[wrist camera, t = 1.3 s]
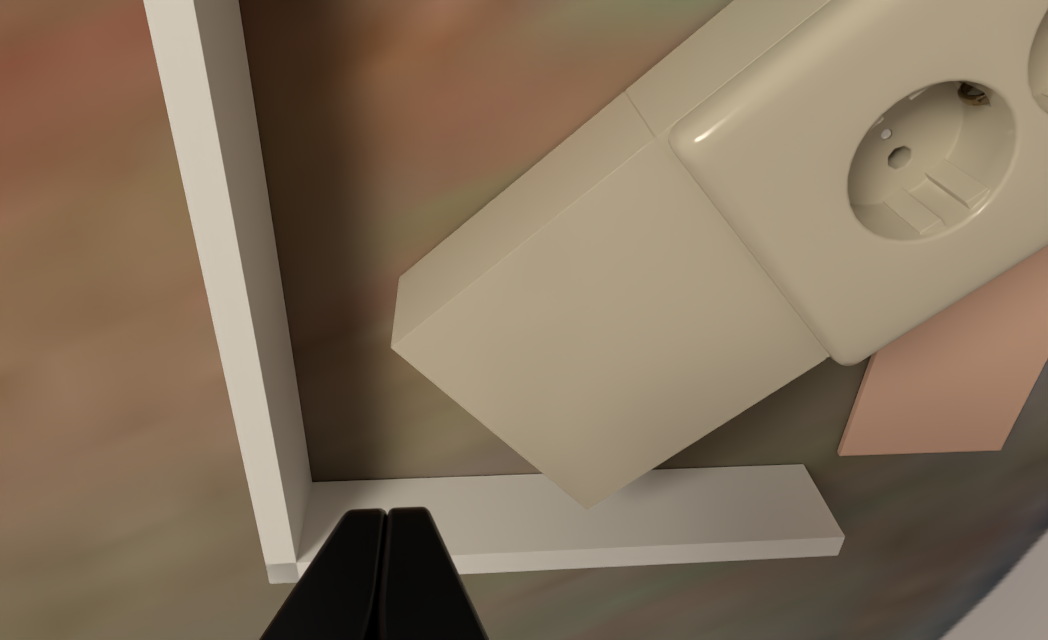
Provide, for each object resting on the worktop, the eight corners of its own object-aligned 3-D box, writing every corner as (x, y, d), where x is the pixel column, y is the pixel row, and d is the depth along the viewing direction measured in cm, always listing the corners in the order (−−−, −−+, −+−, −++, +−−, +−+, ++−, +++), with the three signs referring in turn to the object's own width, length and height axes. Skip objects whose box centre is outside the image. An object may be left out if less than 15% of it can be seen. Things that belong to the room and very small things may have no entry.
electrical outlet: (387, 372, 16) (1309, -346, 10) (399, 277, 19) (1097, -302, 14) (592, 537, 19) (1374, 56, 14) (571, 431, 22) (1190, 12, 17)
